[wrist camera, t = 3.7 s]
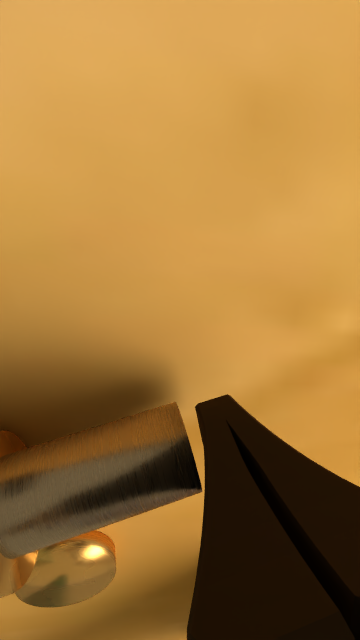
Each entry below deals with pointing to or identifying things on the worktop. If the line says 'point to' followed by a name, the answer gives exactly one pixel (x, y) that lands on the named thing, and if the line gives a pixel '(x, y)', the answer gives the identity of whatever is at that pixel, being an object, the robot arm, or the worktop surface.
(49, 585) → the spacer
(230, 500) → the robot arm
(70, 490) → the shaft
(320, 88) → the worktop surface
